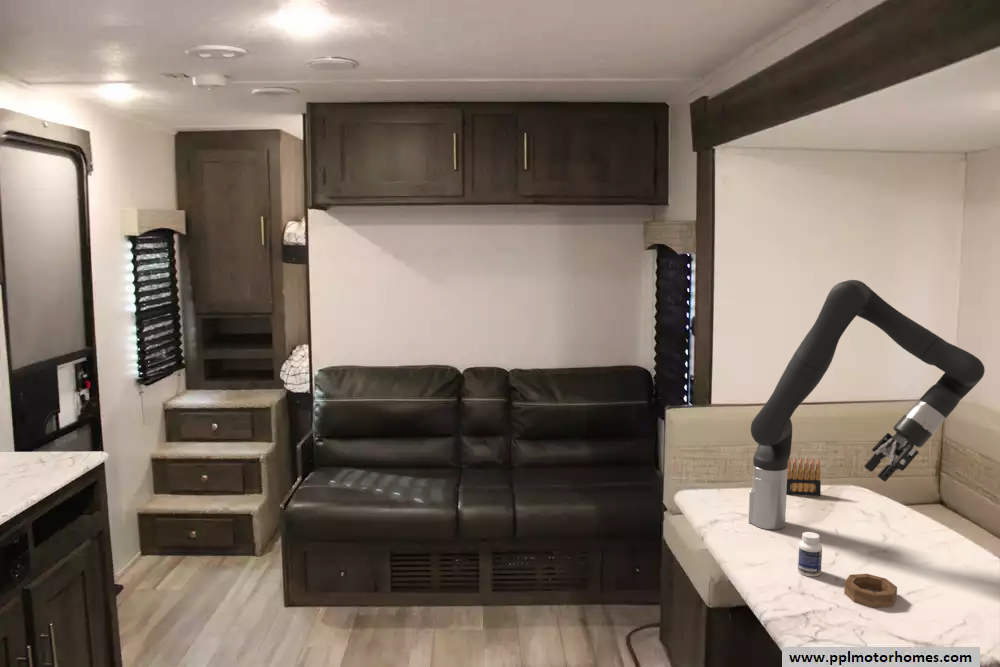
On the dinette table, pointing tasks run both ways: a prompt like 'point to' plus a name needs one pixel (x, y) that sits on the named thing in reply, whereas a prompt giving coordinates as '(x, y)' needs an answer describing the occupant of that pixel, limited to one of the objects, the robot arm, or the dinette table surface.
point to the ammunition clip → (804, 478)
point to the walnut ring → (858, 594)
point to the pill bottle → (810, 555)
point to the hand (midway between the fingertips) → (874, 474)
